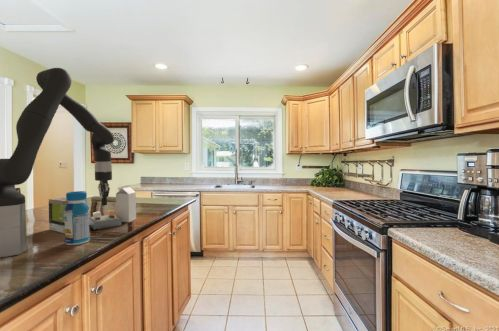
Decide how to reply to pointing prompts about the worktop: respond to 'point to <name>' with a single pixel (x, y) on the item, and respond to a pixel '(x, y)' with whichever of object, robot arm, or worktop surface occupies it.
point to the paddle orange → (111, 212)
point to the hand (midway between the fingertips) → (104, 205)
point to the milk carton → (126, 204)
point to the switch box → (104, 221)
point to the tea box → (57, 214)
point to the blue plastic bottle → (76, 218)
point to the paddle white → (97, 214)
